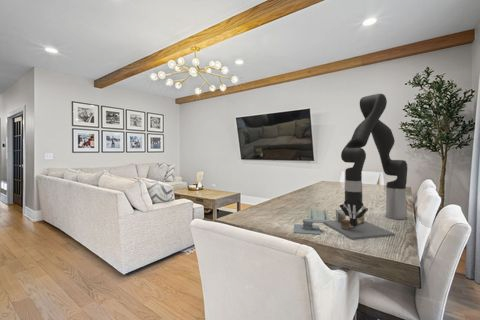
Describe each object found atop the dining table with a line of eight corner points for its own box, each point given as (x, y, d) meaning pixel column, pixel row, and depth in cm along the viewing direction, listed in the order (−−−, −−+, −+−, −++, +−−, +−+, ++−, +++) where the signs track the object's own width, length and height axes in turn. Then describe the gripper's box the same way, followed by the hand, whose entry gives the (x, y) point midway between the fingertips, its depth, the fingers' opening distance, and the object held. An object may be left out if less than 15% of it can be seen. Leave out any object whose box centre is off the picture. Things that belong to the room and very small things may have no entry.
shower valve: (326, 224, 105) (293, 222, 109) (326, 236, 106) (293, 233, 109) (324, 217, 117) (294, 215, 121) (324, 227, 118) (294, 225, 121)
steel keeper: (343, 220, 125) (343, 209, 124) (351, 224, 118) (351, 212, 118) (335, 221, 124) (335, 210, 124) (343, 224, 117) (343, 213, 117)
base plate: (358, 220, 128) (358, 208, 128) (394, 235, 104) (395, 221, 104) (322, 222, 124) (322, 211, 124) (351, 239, 100) (351, 225, 100)
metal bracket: (304, 206, 138) (331, 207, 134) (304, 214, 140) (330, 216, 136) (304, 219, 125) (334, 221, 121) (304, 228, 127) (333, 231, 123)
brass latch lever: (357, 219, 124) (357, 213, 124) (365, 221, 121) (365, 214, 121) (339, 227, 112) (339, 220, 112) (348, 229, 109) (348, 222, 109)
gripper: (371, 190, 106) (371, 227, 107) (343, 187, 116) (343, 221, 117) (364, 192, 101) (364, 231, 102) (336, 189, 111) (336, 224, 112)
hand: (353, 225), depth 109 cm, fingers closed
